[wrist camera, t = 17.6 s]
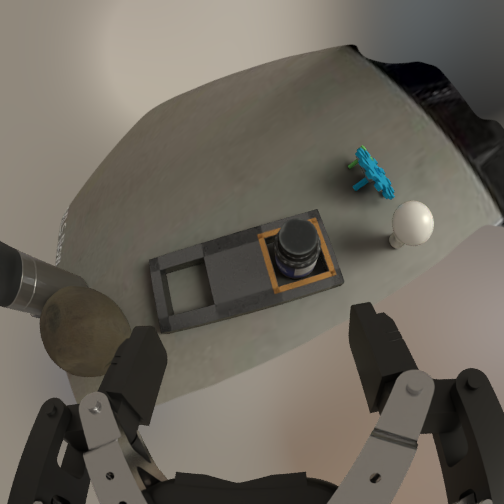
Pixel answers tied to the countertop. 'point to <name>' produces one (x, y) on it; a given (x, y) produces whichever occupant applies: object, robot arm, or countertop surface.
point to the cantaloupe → (82, 330)
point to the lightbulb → (411, 224)
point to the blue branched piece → (372, 173)
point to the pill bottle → (297, 248)
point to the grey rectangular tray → (239, 275)
